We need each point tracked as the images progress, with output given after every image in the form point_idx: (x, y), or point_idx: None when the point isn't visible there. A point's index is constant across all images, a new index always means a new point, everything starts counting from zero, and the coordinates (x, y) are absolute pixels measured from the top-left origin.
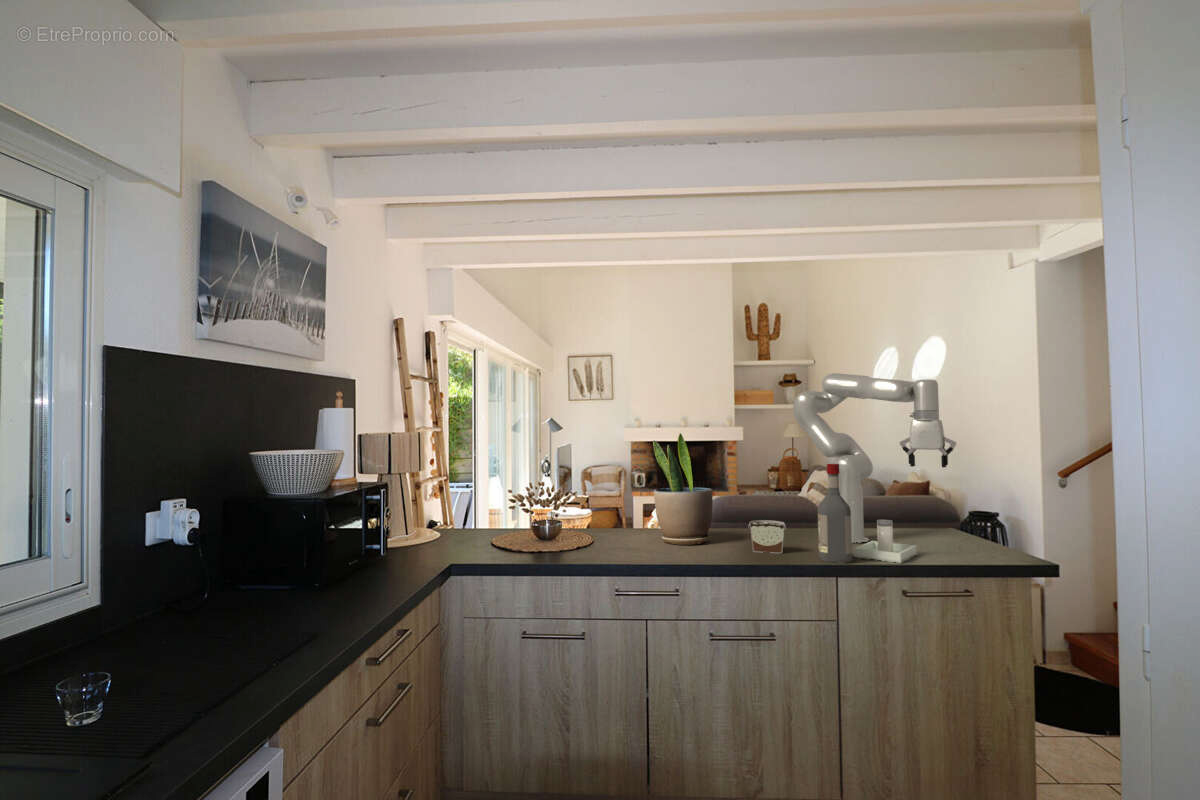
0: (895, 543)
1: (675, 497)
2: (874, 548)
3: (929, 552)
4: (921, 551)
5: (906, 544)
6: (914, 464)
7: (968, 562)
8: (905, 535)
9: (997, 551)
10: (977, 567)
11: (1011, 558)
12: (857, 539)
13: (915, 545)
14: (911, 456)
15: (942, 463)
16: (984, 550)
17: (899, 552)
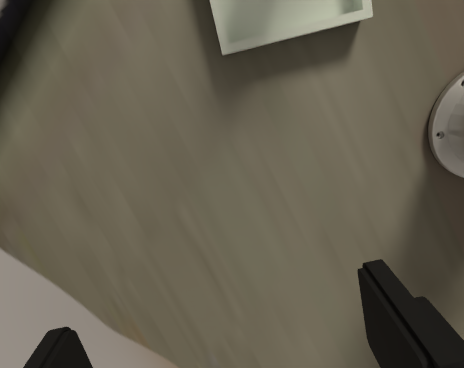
0: (289, 33)
1: None
2: (348, 4)
3: (220, 131)
4: (244, 127)
5: (254, 45)
6: (371, 338)
7: (68, 64)
8: None
9: (122, 290)
10: (8, 3)
11: (46, 222)
12: (457, 103)
13: (225, 51)
14: (425, 344)
15: (44, 355)
16: (148, 280)
17: None
